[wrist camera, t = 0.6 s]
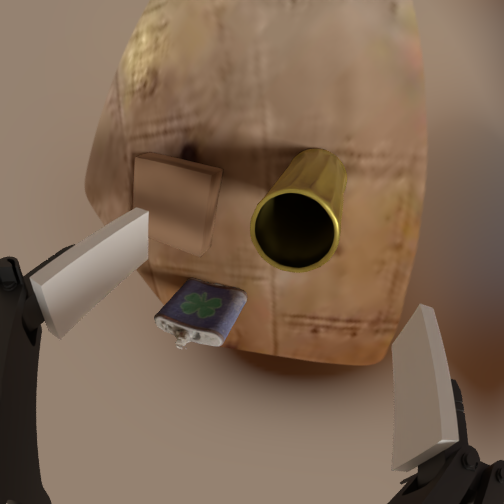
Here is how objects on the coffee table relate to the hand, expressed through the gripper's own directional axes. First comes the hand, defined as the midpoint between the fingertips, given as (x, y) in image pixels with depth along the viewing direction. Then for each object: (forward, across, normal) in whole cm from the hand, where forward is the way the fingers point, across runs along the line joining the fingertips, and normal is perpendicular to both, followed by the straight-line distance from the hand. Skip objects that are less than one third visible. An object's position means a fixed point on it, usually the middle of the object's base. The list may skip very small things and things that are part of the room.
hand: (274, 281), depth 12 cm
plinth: (+19, -15, -7) cm, 25 cm away
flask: (+19, -8, -18) cm, 28 cm away
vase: (+19, 0, 0) cm, 19 cm away
